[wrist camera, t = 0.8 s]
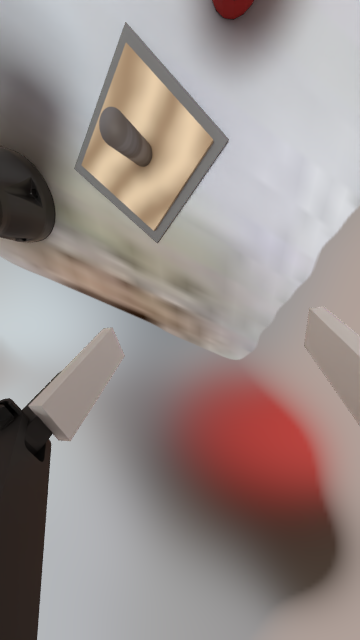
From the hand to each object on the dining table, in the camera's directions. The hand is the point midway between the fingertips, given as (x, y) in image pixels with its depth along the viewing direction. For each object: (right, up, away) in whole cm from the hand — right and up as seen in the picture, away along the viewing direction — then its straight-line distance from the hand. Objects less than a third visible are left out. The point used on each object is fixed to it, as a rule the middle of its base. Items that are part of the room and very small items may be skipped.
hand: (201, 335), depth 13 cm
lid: (-7, +27, +16) cm, 32 cm away
